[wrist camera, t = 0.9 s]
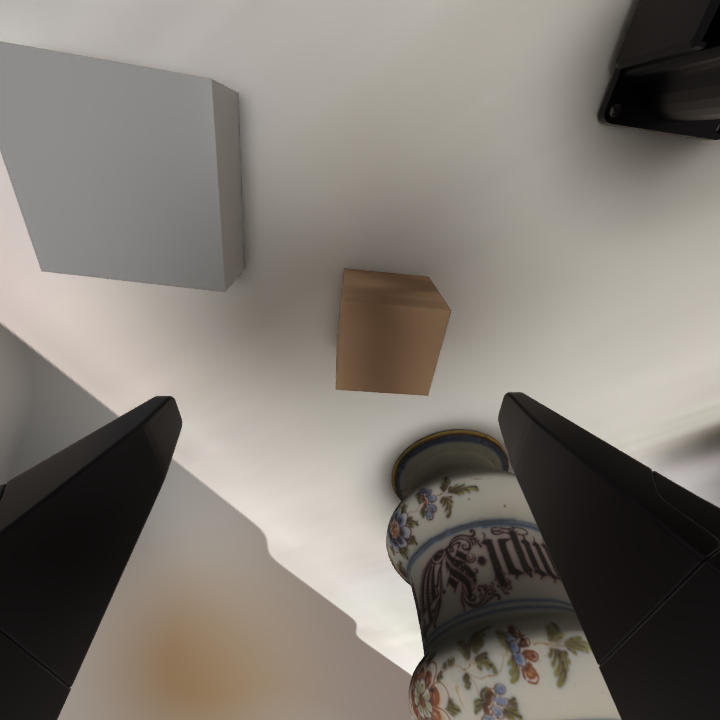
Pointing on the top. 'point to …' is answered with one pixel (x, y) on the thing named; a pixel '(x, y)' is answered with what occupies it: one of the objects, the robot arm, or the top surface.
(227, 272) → the stoneware block
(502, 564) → the apothecary jar
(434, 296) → the walnut cube
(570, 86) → the top surface
